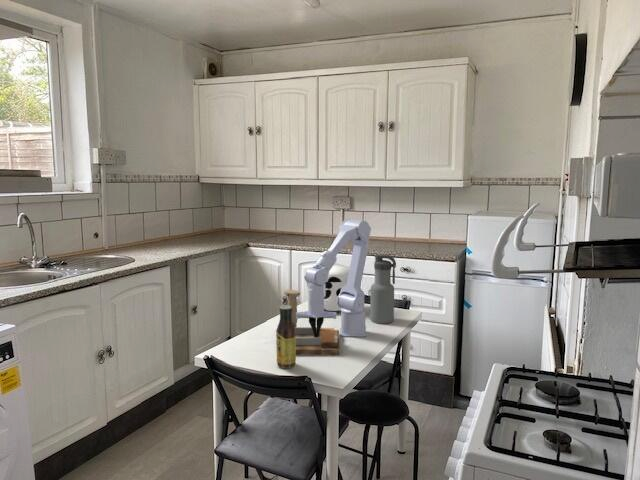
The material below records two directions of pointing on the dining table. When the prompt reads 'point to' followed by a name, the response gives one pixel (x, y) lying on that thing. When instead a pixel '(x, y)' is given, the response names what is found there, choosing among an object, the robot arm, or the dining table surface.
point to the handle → (292, 303)
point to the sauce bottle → (286, 339)
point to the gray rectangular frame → (307, 339)
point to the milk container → (334, 288)
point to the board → (319, 346)
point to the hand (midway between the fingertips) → (316, 337)
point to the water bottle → (382, 290)
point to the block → (327, 334)
